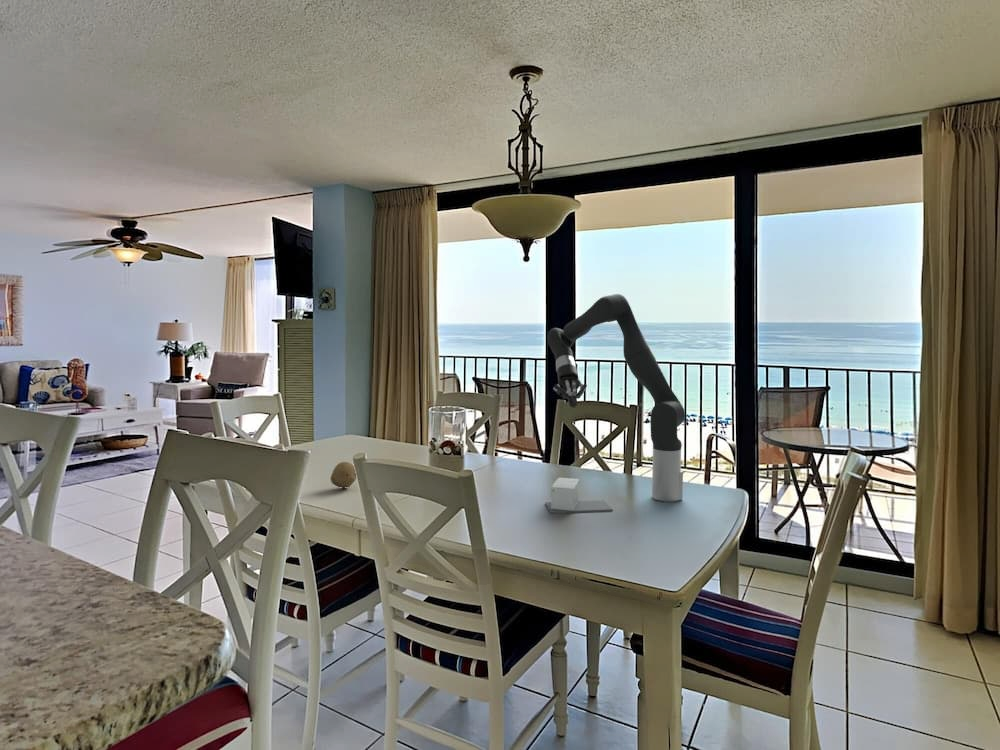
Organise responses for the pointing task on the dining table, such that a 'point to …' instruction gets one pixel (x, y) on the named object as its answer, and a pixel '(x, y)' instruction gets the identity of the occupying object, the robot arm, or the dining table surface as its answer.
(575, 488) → the supplement box
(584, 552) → the dining table surface
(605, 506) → the mat
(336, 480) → the natural sponge
